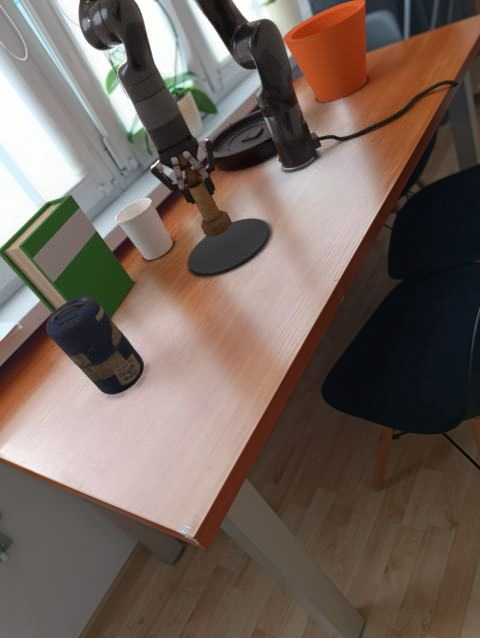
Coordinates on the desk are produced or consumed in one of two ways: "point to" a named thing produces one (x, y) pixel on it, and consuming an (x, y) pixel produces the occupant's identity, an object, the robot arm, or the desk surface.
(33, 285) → the hardback book
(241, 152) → the black round plastic slab
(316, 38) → the flowerpot
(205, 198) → the brown wooden turned piece
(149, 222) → the white cup
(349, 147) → the desk surface
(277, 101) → the robot arm
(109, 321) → the canister
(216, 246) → the disc
